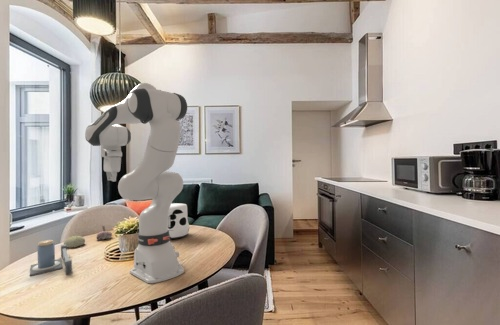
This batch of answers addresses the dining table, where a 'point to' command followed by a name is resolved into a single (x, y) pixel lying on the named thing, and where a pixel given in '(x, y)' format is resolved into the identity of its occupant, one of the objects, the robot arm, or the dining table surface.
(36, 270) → the resting mat
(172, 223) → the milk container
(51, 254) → the ceramic jar
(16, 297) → the dining table surface
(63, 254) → the dark grey flat bar
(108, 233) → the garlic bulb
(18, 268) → the dining table surface
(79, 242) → the sea urchin shell
